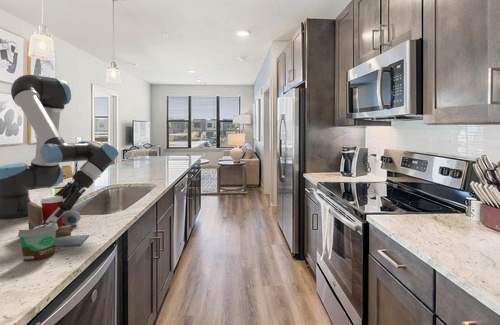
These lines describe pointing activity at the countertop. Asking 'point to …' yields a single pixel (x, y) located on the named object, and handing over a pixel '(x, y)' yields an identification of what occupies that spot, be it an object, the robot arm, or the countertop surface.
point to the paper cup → (51, 207)
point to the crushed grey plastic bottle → (71, 217)
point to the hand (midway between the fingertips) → (43, 220)
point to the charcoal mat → (70, 240)
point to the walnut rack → (37, 219)
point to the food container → (38, 241)
